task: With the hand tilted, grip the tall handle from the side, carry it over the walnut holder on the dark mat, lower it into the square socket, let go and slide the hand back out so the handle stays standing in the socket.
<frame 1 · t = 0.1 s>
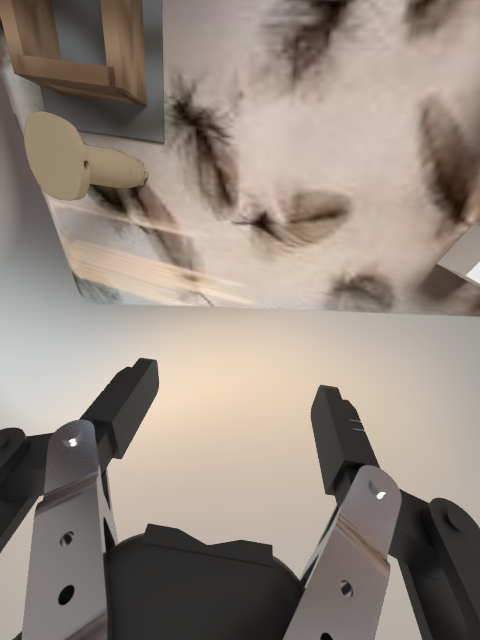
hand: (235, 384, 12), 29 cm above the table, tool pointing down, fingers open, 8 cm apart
socket holder: (94, 26, 27), on the table
handle: (138, 173, 34), on the table
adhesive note: (468, 254, 34), on the table
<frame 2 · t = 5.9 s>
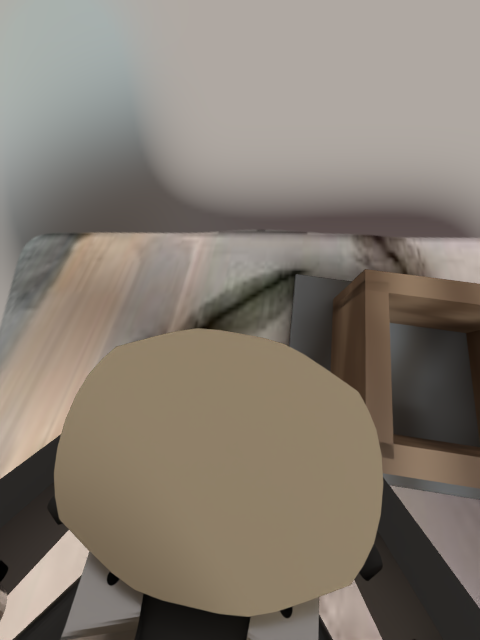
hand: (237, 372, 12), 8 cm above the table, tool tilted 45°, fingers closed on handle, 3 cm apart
socket holder: (406, 377, 20), on the table
handle: (234, 402, 19), on the table, touching gripper
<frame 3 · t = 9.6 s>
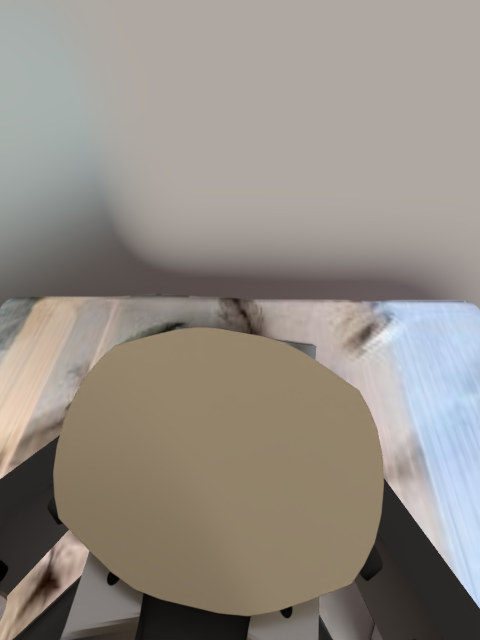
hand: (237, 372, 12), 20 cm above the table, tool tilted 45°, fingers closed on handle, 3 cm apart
handle: (234, 401, 19), point 13 cm above the table, touching gripper
when the fingers open (9 cm above the table, at t = 13.1 s): handle stays where it is, resting on socket holder.
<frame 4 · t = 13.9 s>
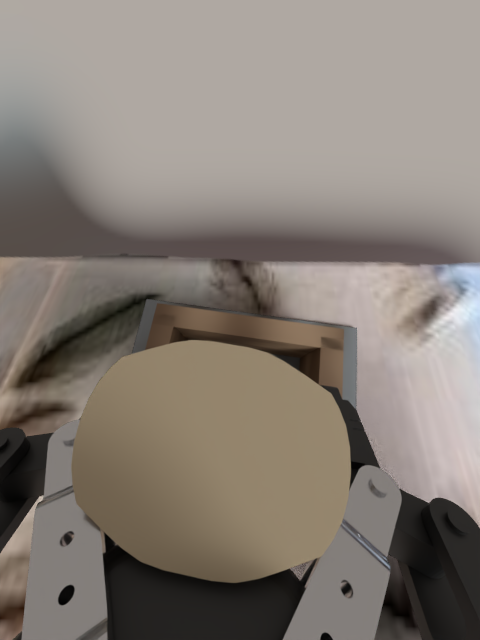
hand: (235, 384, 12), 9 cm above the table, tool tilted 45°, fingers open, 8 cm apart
socket holder: (237, 401, 20), on the table
handle: (233, 403, 20), resting on socket holder
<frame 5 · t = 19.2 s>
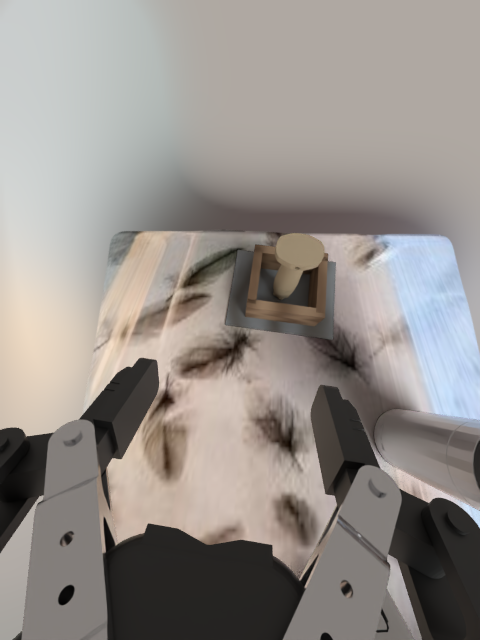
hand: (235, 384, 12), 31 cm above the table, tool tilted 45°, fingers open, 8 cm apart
electrical switch: (350, 597, 33), on the table
socket holder: (282, 292, 46), on the table
handle: (280, 293, 46), resting on socket holder
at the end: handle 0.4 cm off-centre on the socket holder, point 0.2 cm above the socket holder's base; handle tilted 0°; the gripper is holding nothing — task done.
